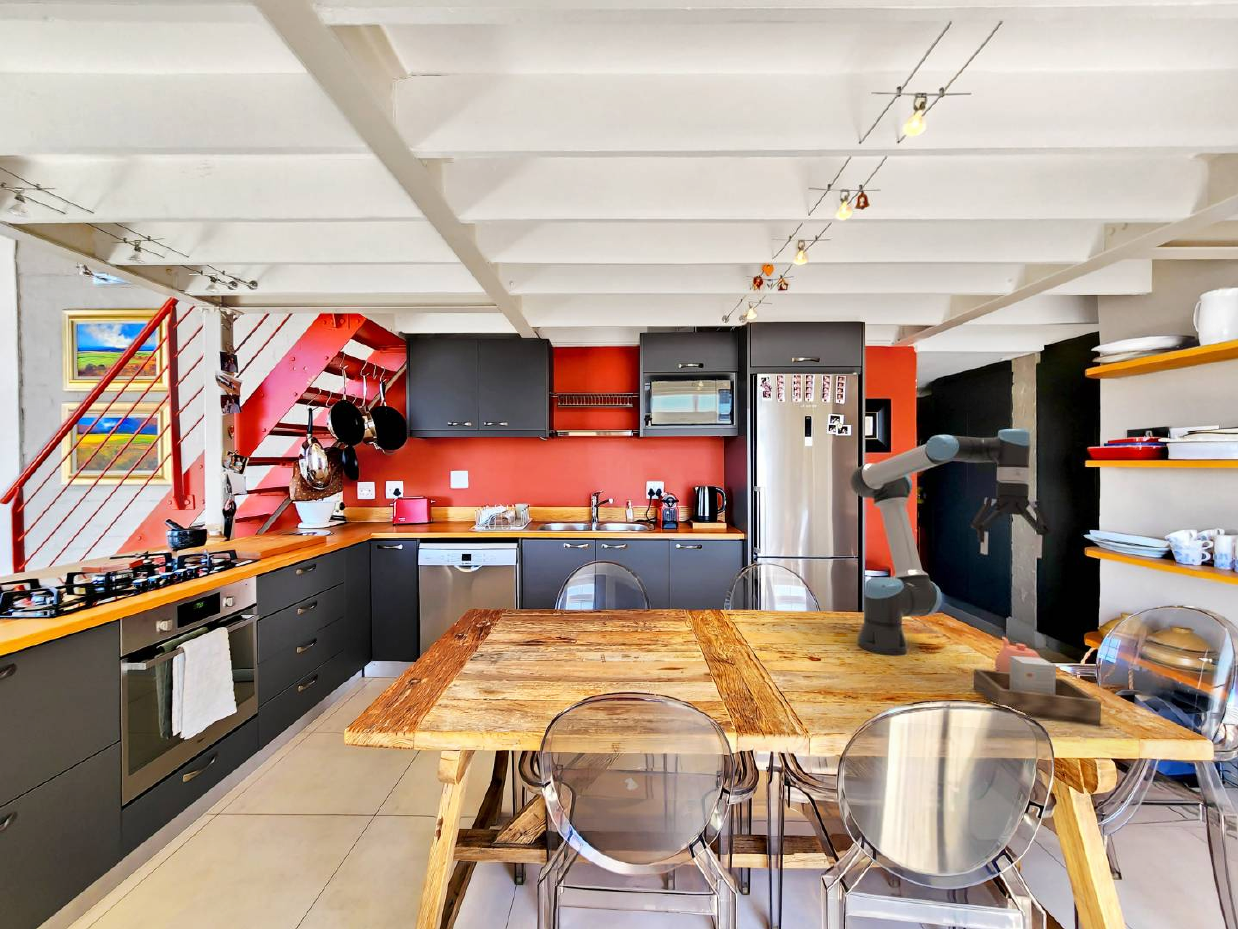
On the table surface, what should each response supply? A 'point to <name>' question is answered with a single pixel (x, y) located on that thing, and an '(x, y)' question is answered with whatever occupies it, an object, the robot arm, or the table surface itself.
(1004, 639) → the teapot
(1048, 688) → the small box
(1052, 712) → the crate
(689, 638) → the table surface
